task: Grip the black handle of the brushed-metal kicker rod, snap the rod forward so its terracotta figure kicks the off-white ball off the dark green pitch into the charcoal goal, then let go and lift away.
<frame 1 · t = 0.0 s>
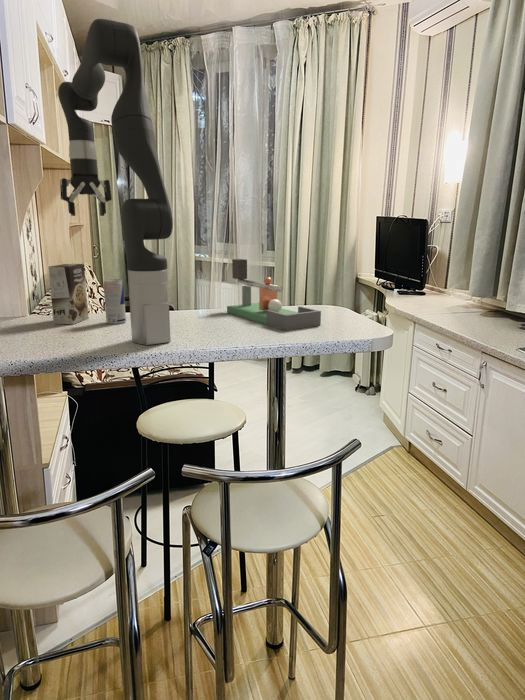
hand: (88, 215, 156), 29 cm above the breakfast bar, tool pointing down, fingers open, 8 cm apart
coffee box: (71, 321, 150), on the breakfast bar
kicker rod: (257, 284, 158), point 9 cm above the breakfast bar, slide at 0.0 cm
ball: (275, 306, 152), point 4 cm above the breakfast bar, touching pitch
pitch: (268, 317, 155), on the breakfast bar
energy drink: (116, 323, 148), on the breakfast bar
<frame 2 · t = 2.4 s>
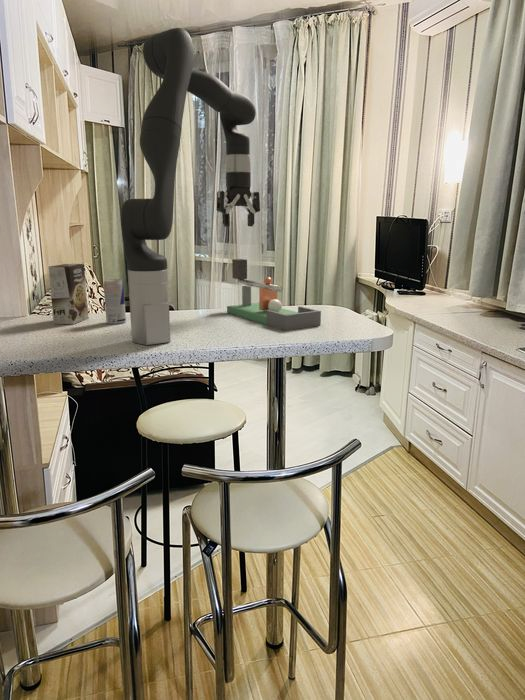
hand: (238, 226, 162), 26 cm above the breakfast bar, tool pointing down, fingers open, 8 cm apart
nothing on the breakfast bar moved.
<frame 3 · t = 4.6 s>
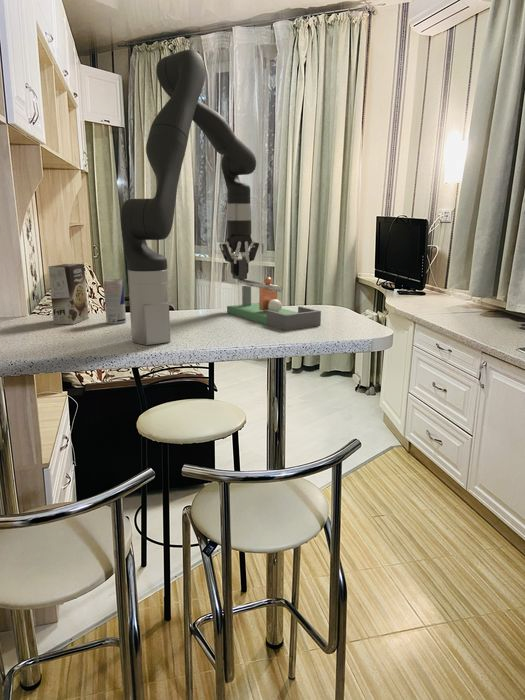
hand: (239, 274, 165), 11 cm above the breakfast bar, tool pointing down, fingers closed on kicker rod, 3 cm apart
kicker rod: (257, 284, 158), point 9 cm above the breakfast bar, slide at 0.0 cm, touching gripper
everything else where it was.
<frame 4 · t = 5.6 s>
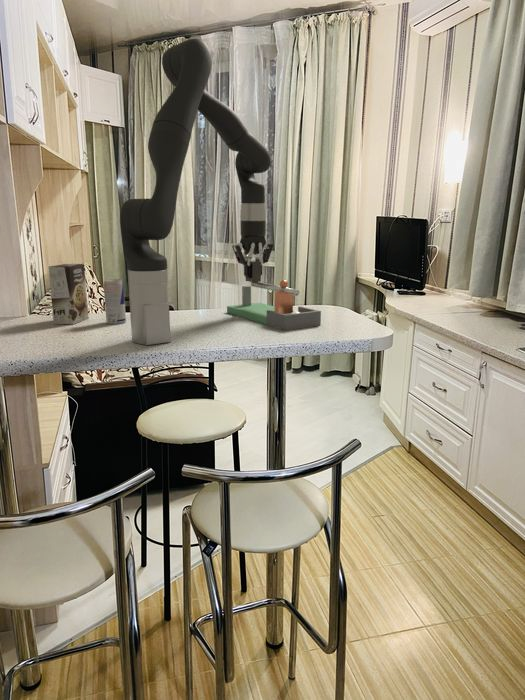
hand: (253, 277, 159), 11 cm above the breakfast bar, tool pointing down, fingers closed on kicker rod, 3 cm apart
kicker rod: (271, 287, 152), point 9 cm above the breakfast bar, slide at 7.8 cm, touching gripper
ball: (296, 318, 144), point 2 cm above the breakfast bar, tilted 69°
everything else where it was.
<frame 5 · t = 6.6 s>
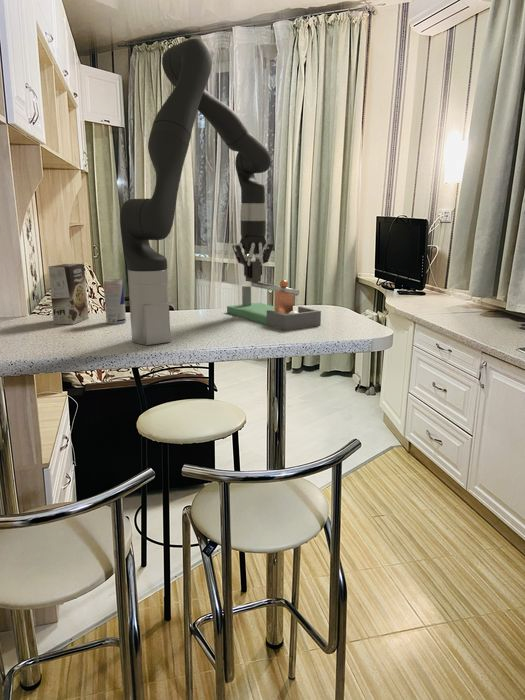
hand: (253, 277, 159), 11 cm above the breakfast bar, tool pointing down, fingers closed on kicker rod, 3 cm apart
kicker rod: (271, 287, 152), point 9 cm above the breakfast bar, slide at 7.9 cm, touching gripper
ball: (293, 317, 145), point 2 cm above the breakfast bar, tilted 98°
everything else where it was.
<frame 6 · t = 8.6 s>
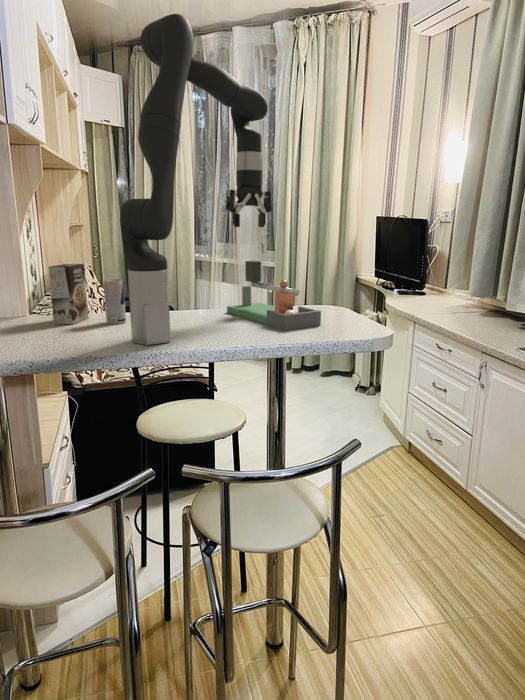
hand: (249, 227, 155), 26 cm above the breakfast bar, tool pointing down, fingers open, 8 cm apart
kicker rod: (271, 287, 152), point 9 cm above the breakfast bar, slide at 7.9 cm, touching ball
ball: (289, 316, 146), point 2 cm above the breakfast bar, tilted 152°, touching kicker rod
everything else where it was.
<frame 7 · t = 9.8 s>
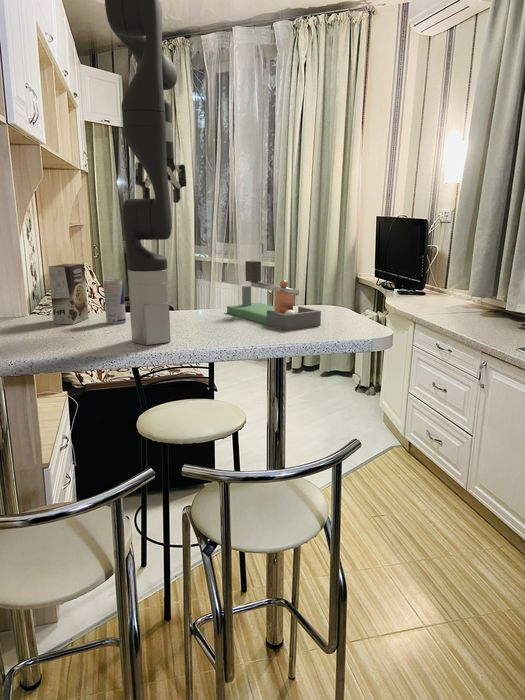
hand: (162, 202, 147), 33 cm above the breakfast bar, tool pointing down, fingers open, 8 cm apart
nothing on the breakfast bar moved.
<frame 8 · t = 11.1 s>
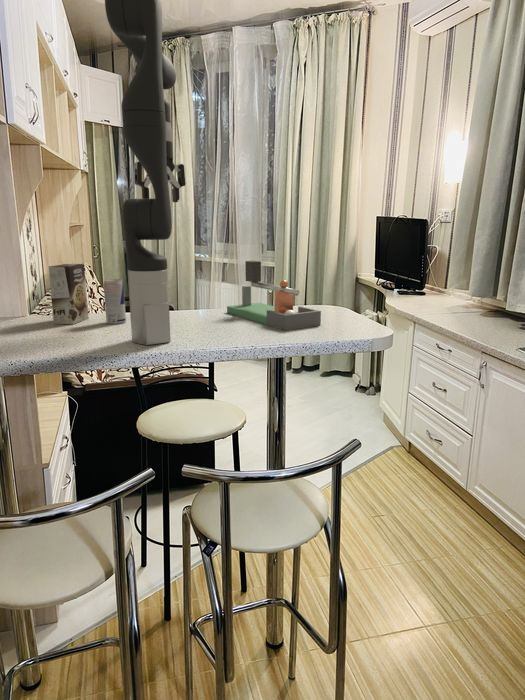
hand: (161, 202, 147), 33 cm above the breakfast bar, tool pointing down, fingers open, 8 cm apart
nothing on the breakfast bar moved.
at the end: ball inside the target area (1.2 cm from its centre), point 2.0 cm above the breakfast bar; kicker rod slide at 7.9 cm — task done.
